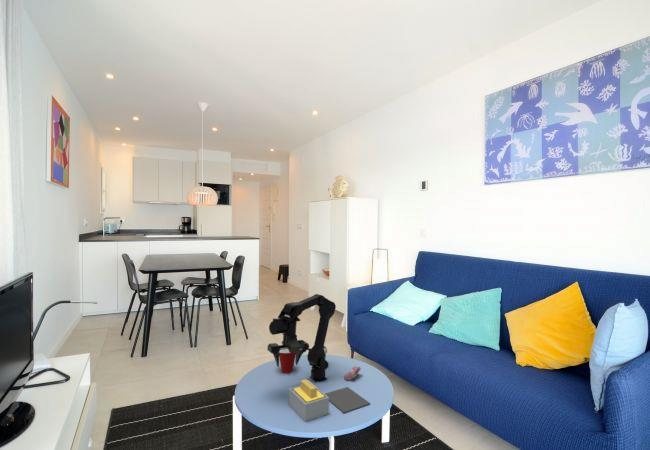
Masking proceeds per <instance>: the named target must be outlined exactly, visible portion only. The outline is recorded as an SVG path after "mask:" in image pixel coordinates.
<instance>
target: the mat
mask: <svg viewBox="0 0 650 450" xmlns="http://www.w3.org/2000/svg"><path fill="white" fill-rule="evenodd" d="M324 394H325V395H327V396H328V397H329V403H331V405H333V406H335V408H337V409H338V410H339V411H340V412H341V413H342V414H347V413H350V412H352V411H354V410H358V409H361V408H365V407H366V406H369V405H371V402H369V401H368V400H367V399H366V398H363V396H361V395H360V394H358V393H357V392H355V391H354V390H352V389H351V388H350V387H348V386H346V387H343V388H339V389H335V390H332V391H329V392H326V393H324Z"/></svg>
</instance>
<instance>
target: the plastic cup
mask: <svg viewBox="0 0 650 450" xmlns="http://www.w3.org/2000/svg"><path fill="white" fill-rule="evenodd" d="M279 353H280V355H279V365H280V368H281V372H282V374H291V373H293V370H294V366H295V358H296V352H293V353H290V352H289V350H288V349H282V350H280V351H279Z"/></svg>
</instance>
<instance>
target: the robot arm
mask: <svg viewBox="0 0 650 450" xmlns="http://www.w3.org/2000/svg"><path fill="white" fill-rule="evenodd" d="M315 306H317V307H318V313H319V314H318V315H319V320H318V325H317V330H316V336H315V339H314V343H313V346H312V347H311V348H310V344H309V343H308V342H307V341H305V340H304V339H298V335H297V323H298V322H300V321H301V319H300V318H299V317H300V315H302V314H303V312H304V311H306V310H308V309H310V308H313V307H315ZM336 307H337V306H336V304H335V302H334V301H332V300H330V299H328V298H327V297H325V296H324V295H322V294H318V293H316V294H313V295H312V296H310V297H309V296H308V297H307V298H305V299H302V300H300V301H297V302H295V301H293V302H287V303H284V306H283V308H282V309H281V311H280V313H279V315H278V317H274V318H272V321H271V322H270V323H269V326H268V329H269V333H270V334H271V335H272V336H273V335H274V336H275V335H280V334H282V336H283V337H282V341H281V345H279V344H278V343H277V342H273V343H269V344H268V345H267V351H268V352H269V353H270V354H272V355H273V358H274V361H275V364H276V367H277V368H279V367H280V358H279V355H280V353H279V351H280V350H282V349H288V350H289V352H290V353H293V352H296V355H295V361H294V364H295V365H296V366H297V365H298V364H299V361H300V360H301V357H302V355H303V354H304V353H307V351H308V353H307V355H306V357H307V362H308V363H309V364H308V365H309V366H311V370H310V379H311V380H313V381H314V382H315V383H319V382H323V381H326V380H328V378H327V377H326V370H327V368H328V367H329V362H328V361H327V360H325V352H324V346H325V343H326V338H327V332H328V329H329V323H330V319H331V318H332V317H333V316H334V314H335V312H336Z"/></svg>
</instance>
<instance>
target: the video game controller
mask: <svg viewBox="0 0 650 450" xmlns="http://www.w3.org/2000/svg"><path fill="white" fill-rule="evenodd" d="M361 369H362V367H360V366H359V365H356V366H353V367H352V368H351V369H350V370H349V372H348V373H346V374H345V375H344V376H343V380H345V381H348V380H353V379H354V378H356V377H358V376H357V375H358V374H359V372H361ZM355 376H356V377H355Z"/></svg>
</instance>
